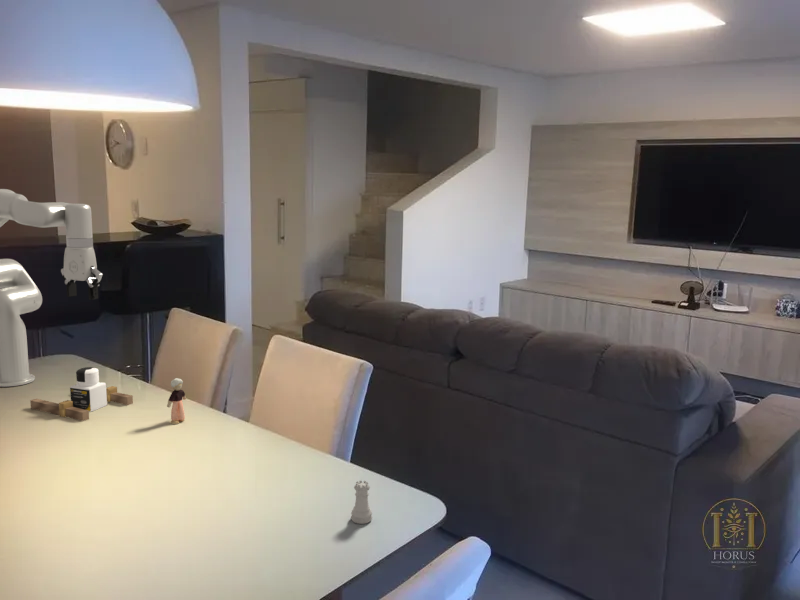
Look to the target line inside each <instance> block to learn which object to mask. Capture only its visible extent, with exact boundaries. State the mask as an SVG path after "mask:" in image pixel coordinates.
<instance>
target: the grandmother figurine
mask: <svg viewBox="0 0 800 600" xmlns="http://www.w3.org/2000/svg"><path fill="white" fill-rule="evenodd" d="M183 382H184V381H183V380H182V379H181V378H179V377H176V378H174V379H172V380H171V382H170V386H171V388H172V389H173V390H172V391H171V394H170V396H169V398H168V401H167V405H166V407H167V408H171V412H170V413H171V414H170V422H169V423H170V424H171V425H178V424H180V423H182V422H184V421H185V419H186V414H185V409H184V404H183V401H185V400H187V397H186V392H185V391H184V390H183V389H182V387H183Z"/></svg>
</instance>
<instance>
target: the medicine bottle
mask: <svg viewBox="0 0 800 600" xmlns="http://www.w3.org/2000/svg"><path fill="white" fill-rule="evenodd" d="M75 373H76V376H75V377H76V384H73V385H70V387H69V392H70V393H69V394H70V401H73V407H75V408H80V409H84V410H89V413H92V412H94V411H97V410H99V409H101V408H103V407H106V406H107V405H108V402H107V393H106V388H107V384H106V382H100V375H99V374H100V373H99V368H96V367H93V366H86V367H81V368H80V369H77V370H76V372H75Z"/></svg>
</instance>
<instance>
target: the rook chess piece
mask: <svg viewBox="0 0 800 600" xmlns="http://www.w3.org/2000/svg"><path fill="white" fill-rule="evenodd" d="M353 488H354V490H355V493H354V495H355V503H354V506H353V509H352V510H351V513H350V515H351V516H350V519H351V521H352V522H353V523H355V524H358V525H365V524H368V523H370V522H371V521H372V520H373V511H372V509H371V507H370V506H369V497H368V496H370V494H369V493H368V491H369V490H370V488H371V486H370V485H369V482H368V481H367V480H363V481H362V479H360V480H359V481H356V482H355V485H354V487H353Z"/></svg>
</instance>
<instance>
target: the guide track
mask: <svg viewBox="0 0 800 600" xmlns="http://www.w3.org/2000/svg"><path fill="white" fill-rule="evenodd" d="M106 393H107V403H111V402H112V403H115V404H119V405H120V404H121V405H124V406H129V405H132V404H133V403H134V400H133V397H134V396H133V395H131V394H127V393H122V392H118V387H117V386H115V385H114V386H113V385H111V386H109V387H106ZM30 409H32V410H35V411H40V412H43V413H44V412H45V413H49V414H52V415H57V416H59V417H61V418H69V419H73V420H76V421H77V420H78V421H81V422H85V421H87V420H89V419H90V414H89V413H90V412H89V410H84V409H80V408H75V407H73V401H71V399H70V400H69V399H67V400H63V401H59V402H58V403H57V402H52V401H49V400H44V399H40V398H33V399H31V400H30Z"/></svg>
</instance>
